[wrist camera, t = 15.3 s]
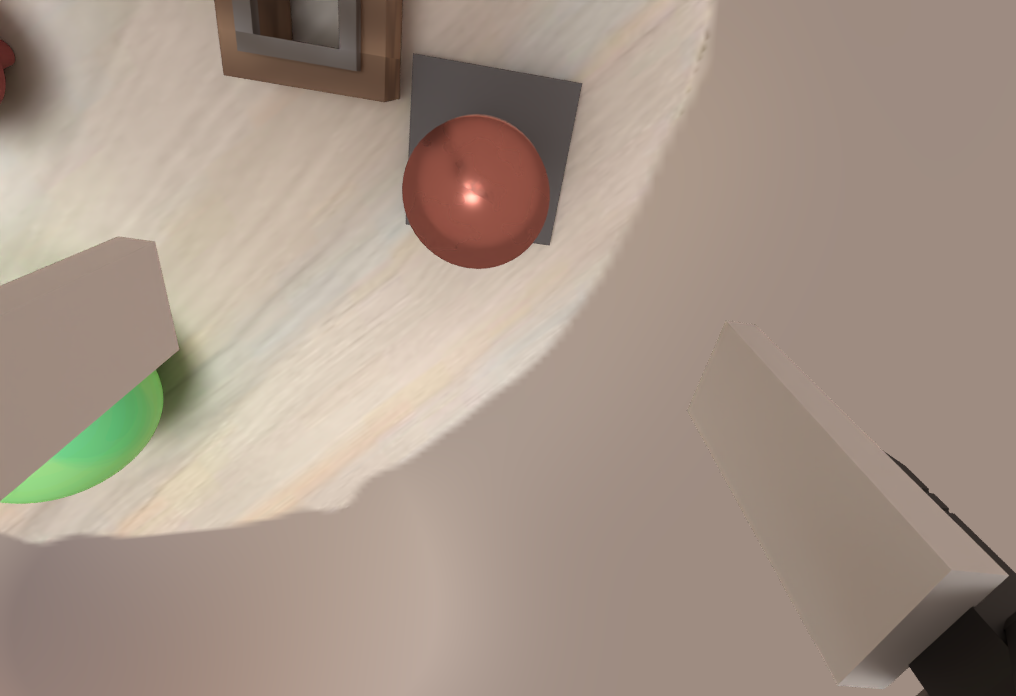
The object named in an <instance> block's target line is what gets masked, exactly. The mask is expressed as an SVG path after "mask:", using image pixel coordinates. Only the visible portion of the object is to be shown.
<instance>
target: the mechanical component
mask: <svg viewBox="0 0 1016 696" xmlns="http://www.w3.org/2000/svg"><path fill="white" fill-rule="evenodd" d="M14 62H15V55H14V53H13V51H12V49H11V48H10V46H9V45H8V44H7V43H5V42H4V41H2V40H0V104H1V102H2V100H3V98H4V94H5V89H6V84H5V75H4V70H3V69H5V68H7V67H9V66H11V65H13V64H14Z"/></svg>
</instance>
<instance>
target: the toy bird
mask: <svg viewBox="0 0 1016 696" xmlns="http://www.w3.org/2000/svg"><path fill="white" fill-rule="evenodd" d="M162 409H163V390H162V385H161V381H160V378H159V376H158V373H157V371H156V370H155V371H153V372H152V373H151V374H150V375H149V376H147V377H146V378H145V379H144V380H143V381H142V382H140V383H139V384H138V385H137V386H136V387H135V388H133V389H132V390H131V391H130V392H129V393H127V394H126V395H125V396H124V397H123V398H122V399H120V400H119V401H118V402H117V403H116V404H114V405H113V406H112V407H111V408H110V409H109V410H107V411H106V412H105V413H104V414H103V415H101V416H100V417H99V418H98V419H97V420H96V421H94V422H93V423H92V424H91V425H90V426H88V427H87V428H86V429H85V430H84V431H83V432H81V433H80V434H79V435H78V436H77V437H76V438H74V439H73V440H72V441H71V442H70V443H68V444H67V445H66V446H65V447H64V448H63V449H61V450H60V451H59V452H58V453H57V454H55V455H54V456H53V457H52V458H51V459H50V460H48V461H47V462H46V463H45V464H44V465H42V466H41V467H40V468H39V469H38V470H37V471H35V472H34V473H33V474H32V475H31V476H29V477H28V478H27V479H26V480H25V481H24V482H22V483H21V484H20V485H19V486H18V487H17V488H15V489H14V490H13V491H12V492H11V493H9V494H8V495H7V496H6V497H5V498H4V499H2V500H1V501H0V502H2V503H15V504H24V503H38V502H45V501H51V500H56V499H60V498H64V497H67V496H71V495H74V494H77V493H79V492H82V491H84V490H87V489H89V488H91V487H93V486H95V485H97V484H99V483H101V482H103V481H105V480H106V479H108V478H110V477H111V476H113V475H114V474H116V473H117V472H119V471H120V470H121V469H123V468H124V467H125V466H126V465H127V464H129V463H130V462H131V461H132V460H133V459H134V458H135V457H136V456H137V455H138V454H139V453H140V452H141V451H142V450H143V448H144V447H145V446H146V445H147V443H148V442H149V440H150V439H151V437H152V436H153V434H154V432H155V430H156V428H157V426H158V423H159V421H160V418H161V414H162Z"/></svg>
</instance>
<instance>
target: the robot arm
mask: <svg viewBox="0 0 1016 696" xmlns="http://www.w3.org/2000/svg"><path fill="white" fill-rule="evenodd" d="M178 350H179V345H178V341H177V337H176V332H175V328H174V323H173V319H172V314H171V310H170V306H169V301H168V297H167V292H166V288H165V284H164V279H163V275H162V270H161V266H160V261H159V257H158V253H157V248H156V244H155V242H154V241H147V240H140V239H132V238H125V237H116V238H113V239H111V240H108V241H106V242H104V243H101V244H99V245H97V246H94V247H92V248H89V249H87V250H85V251H82V252H80V253H77V254H75V255H73V256H70V257H68V258H66V259H63V260H61V261H58V262H56V263H54V264H51V265H49V266H46V267H44V268H42V269H39V270H37V271H35V272H32V273H30V274H27V275H25V276H23V277H20V278H18V279H15V280H13V281H11V282H8V283H6V284H4V285H1V286H0V501H1V500H2V499H4V498H5V497H6V496H7V495H8V494H9V493H11V492H12V491H13V490H14V489H15V488H17V487H18V486H19V485H20V484H21V483H22V482H24V481H25V480H26V479H27V478H28V477H29V476H31V475H32V474H33V473H34V472H35V471H37V470H38V469H39V468H40V467H41V466H42V465H44V464H45V463H46V462H47V461H48V460H50V459H51V458H52V457H53V456H54V455H55V454H57V453H58V452H59V451H60V450H61V449H63V448H64V447H65V446H66V445H67V444H68V443H70V442H71V441H72V440H73V439H74V438H76V437H77V436H78V435H79V434H80V433H81V432H83V431H84V430H85V429H86V428H87V427H88V426H90V425H91V424H92V423H93V422H94V421H96V420H97V419H98V418H99V417H100V416H101V415H103V414H104V413H105V412H106V411H107V410H109V409H110V408H111V407H112V406H113V405H114V404H116V403H117V402H118V401H119V400H120V399H122V398H123V397H124V396H125V395H126V394H127V393H129V392H130V391H131V390H132V389H133V388H135V387H136V386H137V385H138V384H139V383H140V382H142V381H143V380H144V379H145V378H146V377H147V376H149V375H150V374H151V373H152V372H153V371H155V370H156V369H157V368H158V367H159V366H160V365H162V364H163V363H164V362H165V361H166V360H168V359H169V358H170V357H171V356H172V355H173V354H175V353H176V352H177V351H178ZM687 412H688V413H689V415H690V417H691V419H692V421H693V422H694V424H695V426H696V428H697V430H698V432H699V434H700V435H701V437H702V439H703V441H704V443H705V444H706V446H707V448H708V450H709V452H710V454H711V455H712V457H713V459H714V461H715V463H716V465H717V466H718V468H719V470H720V472H721V474H722V476H723V477H724V479H725V481H726V483H727V485H728V486H729V488H730V490H731V492H732V494H733V496H734V497H735V499H736V501H737V503H738V505H739V507H740V508H741V510H742V512H743V514H744V516H745V518H746V519H747V521H748V523H749V525H750V526H751V529H752V530H753V532H754V534H755V536H756V537H757V539H758V541H759V543H760V545H761V547H762V549H763V551H764V552H765V554H766V556H767V558H768V560H769V561H770V563H771V565H772V567H773V569H774V571H775V572H776V574H777V576H778V578H779V580H780V582H781V583H782V585H783V587H784V589H785V590H786V593H787V594H788V596H789V598H790V600H791V602H792V603H793V605H794V607H795V609H796V611H797V612H798V614H799V616H800V618H801V620H802V622H803V624H804V625H805V627H806V629H807V631H808V633H809V635H810V636H811V638H812V640H813V642H814V644H815V646H816V647H817V649H818V651H819V653H820V655H821V657H822V658H823V660H824V662H825V664H826V666H827V667H828V669H829V671H830V673H831V675H832V677H833V678H834V680H835V682H836V684H837V685H838V686H850V687H864V688H879V689H885V688H886V687H887V686H889V685H890V684H891V683H892V682H893V681H894V680H895V679H896V678H897V677H899V676H900V675H901V674H902V673H903V672H904V671H905V670H906V669H907V668H908V667H910V668H911V670H912V671H913V673H914V674H915V675H916V677H917V678H918V680H919V681H920V683H921V684H922V686H923V687H924V689H923V690H922V691H921V692H920V693H919V694H918V695H916V696H1016V573H1015V572H1014V571H1013V570H1012V569H1010V567H1008V565H1007V564H1005V562H1003V561H1002V560H1001V559H1000V558H999V557H998V556H997V555H996V554H995V553H994V552H993V551H992V550H991V549H990V548H989V547H988V546H987V545H986V544H985V543H984V542H983V541H982V540H981V539H980V538H979V537H978V536H977V535H976V534H974V532H973V531H972V530H971V529H970V528H969V527H967V526H966V525H965V524H964V523H963V522H962V521H961V520H960V519H959V518H958V517H957V516H956V515H955V514H953V513H949V511H948V510H949V508H948V507H947V506H946V505H945V504H944V503H943V502H942V501H941V500H940V499H939V498H938V497H937V496H935V494H932V493H929V491H928V490H929V489H928V488H927V487H926V486H925V485H924V484H923V483H922V482H921V481H920V480H919V479H918V478H917V477H916V476H915V475H914V474H913V473H912V472H911V471H910V470H909V469H908V468H907V467H906V466H905V465H903V464H901V463H900V462H899V461H897V460H896V459H894V458H893V457H891V456H890V455H889V454H887V453H886V452H884V451H883V450H882V449H881V448H880V447H879V446H878V445H877V444H876V443H875V442H873V440H872V439H871V438H870V437H869V436H868V435H867V434H866V433H865V432H864V431H862V430H861V429H860V428H859V427H858V426H857V425H856V424H855V423H854V422H853V421H852V420H851V419H850V418H849V417H848V416H847V415H846V414H845V413H844V412H843V411H842V410H841V409H840V408H839V407H838V406H837V405H836V404H835V403H834V402H833V401H832V400H831V399H830V398H829V397H828V396H827V395H826V394H825V393H824V392H823V391H822V390H821V389H820V388H819V387H818V386H817V385H816V384H815V383H814V382H813V381H812V380H811V379H810V378H809V377H808V376H807V375H806V374H805V373H804V372H803V371H802V370H801V369H800V368H799V367H798V366H797V365H796V364H795V363H794V362H793V361H792V360H791V359H790V358H789V357H788V356H787V355H786V354H785V353H784V352H783V351H782V350H781V349H780V348H779V347H778V346H777V345H776V344H775V343H773V341H772V340H771V339H770V338H768V336H767V335H765V333H763V332H762V331H761V330H760V329H759V328H758V327H757V326H756V325H755V324H747V323H740V322H733V321H725V323H724V326H723V328H722V330H721V332H720V335H719V337H718V340H717V342H716V344H715V347H714V349H713V351H712V353H711V356H710V358H709V360H708V363H707V365H706V368H705V370H704V372H703V374H702V377H701V379H700V381H699V384H698V386H697V389H696V391H695V393H694V395H693V398H692V400H691V402H690V405H689V407H688V409H687Z"/></svg>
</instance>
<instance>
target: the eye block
mask: <svg viewBox="0 0 1016 696" xmlns="http://www.w3.org/2000/svg"><path fill="white" fill-rule="evenodd" d="M214 2H215V10H216V18H217V26H218V34H219V42H220V49H221V57H222V65H223V73H224V75H226V76H232V77H238V78H244V79H250V80H256V81H262V82H268V83H274V84H280V85H286V86H292V87H298V88H304V89H310V90H316V91H322V92H327V93H333V94H339V95H345V96H351V97H357V98H363V99H369V100H375V101H381V102H387V101H392V100H396V99H399V94H400V64H401V35H402V5H403V0H338V8H339V49H337V48H332V47H326V46H320V45H315V44H309V43H303V42H298V41H293V40H292V24H291V8H290V0H214Z"/></svg>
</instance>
